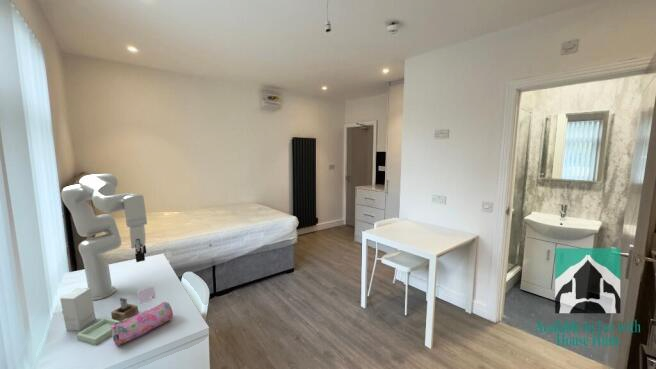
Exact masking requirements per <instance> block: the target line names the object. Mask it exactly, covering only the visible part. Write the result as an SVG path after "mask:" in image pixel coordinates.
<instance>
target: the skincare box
mask: <svg viewBox="0 0 656 369" xmlns="http://www.w3.org/2000/svg"><path fill="white" fill-rule="evenodd" d="M59 300H60V305H61V310H62V316H63V321H64V325H65V330H66V331H69V332H70V331H81V330H83V328H84V329H85V327H86V326H88V325H89V324H91V323H92V322H93V321H94V320H96V313H95V312H96V311H95V306H94V301H93V300H92V295H91V288H87V287H76V288H75V289H73V290H72V291H70V292H68V293H67V294H64V295H63V296H62V297H60V298H59Z"/></svg>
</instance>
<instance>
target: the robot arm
mask: <svg viewBox="0 0 656 369" xmlns="http://www.w3.org/2000/svg"><path fill="white" fill-rule="evenodd" d="M78 182H79V183H77V184H72V185H69V186H65V187H64V188H63V189H62V190H61V195H60V196H61V199H62V202H63V204H64V205H65V207H66V208H67V209H68V211H69V212H70V213H71V218H72V222H73V223H74V227H75V229H76V233H77V234H78V235H79V236H80V237H89V236H94V235H97V236H94V237H91V238H90V237H89V238H87V239H84V240H83V241H81V242H80V243H79V244H78V251H79V254H80V256H81V258H82V263H83V266H84V274H85V278H86V283H87V287H86V288H91V295H92V300H93V302H95V301H98V300H103V299H105V298H108V297H110V296H111V295H113V294H114V293H116V292H117V287H116V286H114V285H113V284H112V278H111V272H110V271H111V270H110V265H109V261H108V259H107V258H106V257H105V256H103V254H105V253H108V252H112V251H114V250H117V249H119V248H120V247H121V245H122V238H121V235H120V231H119V229H118V226H117V223H116V220H115V218H114V217H113V215H110V213H115V212H116V213H117V212H120V211H121V212H122V211H124V215H125V222H126V227H127V228H129V237H130V238H129V239H130V245H131V246H130V247H131V249H132V250H133V249H134V252H135V253H134V255H135V256H134V257H135V261H136V263H139V262H145V261H146V258H145V256H146V255H145V254H147V247H146V228H145V226H146V225H147V224H148V221H147V220H148V218H147V213H146V211H147V210H146V205H145V197H144V196H143V195H142V194H138V193H137V194H136V193H135V192H125V193H119V194H118V193H117V194H115V193H116V188H117V186H118V179H117V177H116V176H115V175H113V174H112V173H99V174H88V175H84V176H83V177H81V178H80V179H79V181H78ZM89 200H91V201H92V203H93V205H94V207H95V208H96V209H97V210H99V211H101V212H103V213H104V214H98V215H96V214H95V211H94V209H93V206H91V205H90V204H88V203H87V202H85V201H89ZM106 213H107V214H106ZM102 233H104V234H102ZM99 234H102V235H99Z"/></svg>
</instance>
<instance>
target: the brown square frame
mask: <svg viewBox="0 0 656 369" xmlns="http://www.w3.org/2000/svg"><path fill="white" fill-rule="evenodd" d="M127 308H128V310H127V311H125V312H123V313H122V309H121V306H120V307H118V308H116V309H114V310H113V311H111V319H113V320H117V321H122V320H125V319H127V318H131V317H133V316H135V315H138V314H139V307H138V305H136V304H130V303H127Z"/></svg>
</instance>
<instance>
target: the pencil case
mask: <svg viewBox="0 0 656 369" xmlns="http://www.w3.org/2000/svg"><path fill="white" fill-rule="evenodd" d="M173 313H174V312H173V309H172V306H171V304H170V303H169V302H167V301H162V302H161V303H160V304H158V305H156V306H154V307H152V308H149V309H147V310H145V311H142V312H140V313H137V314H135V315H134V316H132V317H130V318H127V319H125V320H122V321H119V322H116V323H115V324H113V325H111V326H109V327H110V328H111V329H112V328H113V329H112V335H111V337H112V338H111V339H112V341H113V342H114V344H115V345H116V346H121V345H123V344H125V343H127V342H130V341H131V340H133V339H135V338H138V337H140V336H142V335H144V334H147V333H149V331H151V330H154V329H155V328H157V327H160V326H161V325H164V324H165V323H166V322H168V321H172V319H173V317H174V314H173Z"/></svg>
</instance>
